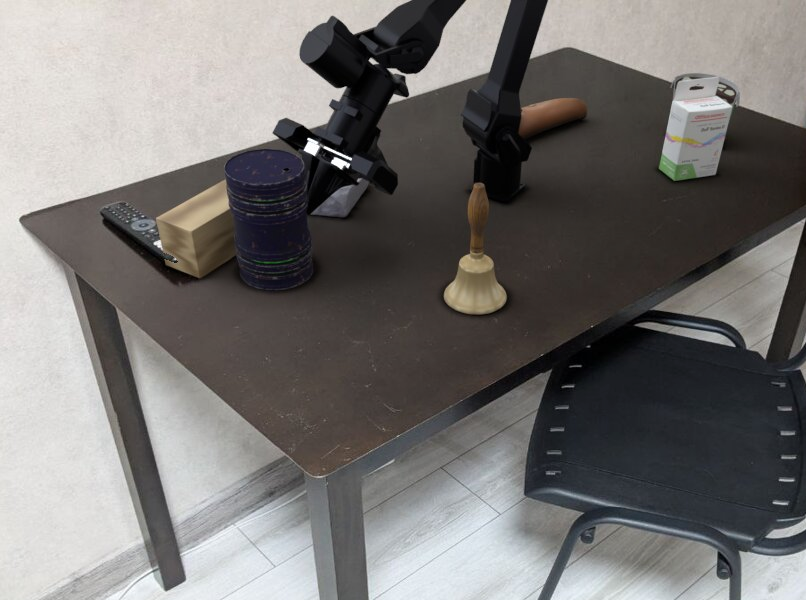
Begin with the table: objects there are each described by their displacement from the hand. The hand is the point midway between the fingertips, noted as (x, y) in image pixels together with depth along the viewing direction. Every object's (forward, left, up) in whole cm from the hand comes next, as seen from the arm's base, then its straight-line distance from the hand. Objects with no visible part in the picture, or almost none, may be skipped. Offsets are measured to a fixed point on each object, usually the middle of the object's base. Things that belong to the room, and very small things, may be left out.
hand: (305, 212), depth 121 cm
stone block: (+8, -15, -7) cm, 18 cm away
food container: (-32, -71, -7) cm, 78 cm away
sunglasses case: (-6, -57, -7) cm, 57 cm away
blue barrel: (+1, +6, -7) cm, 9 cm away
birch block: (+11, +6, -6) cm, 14 cm away
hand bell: (-24, -4, -7) cm, 25 cm away
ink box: (-35, -56, -7) cm, 66 cm away
